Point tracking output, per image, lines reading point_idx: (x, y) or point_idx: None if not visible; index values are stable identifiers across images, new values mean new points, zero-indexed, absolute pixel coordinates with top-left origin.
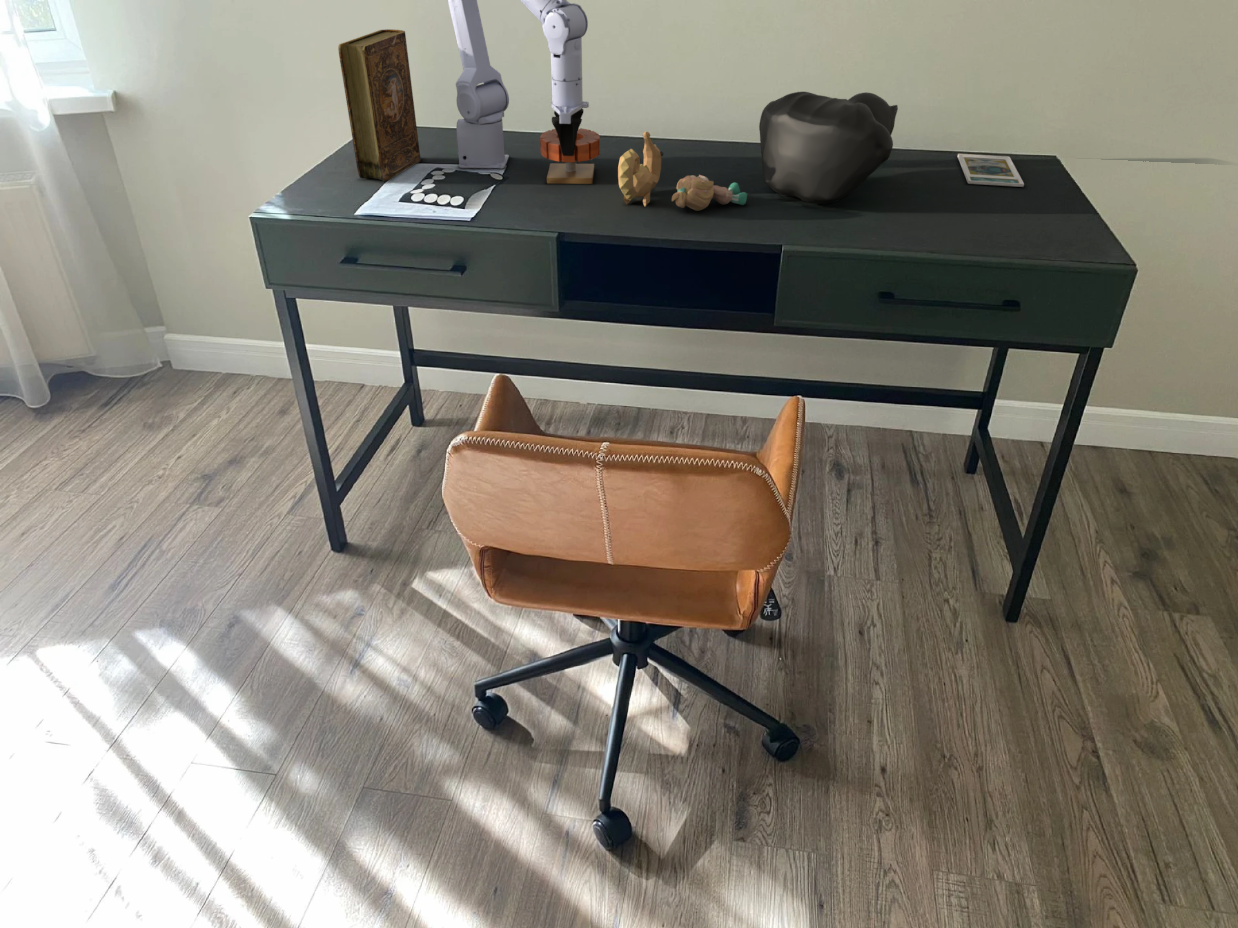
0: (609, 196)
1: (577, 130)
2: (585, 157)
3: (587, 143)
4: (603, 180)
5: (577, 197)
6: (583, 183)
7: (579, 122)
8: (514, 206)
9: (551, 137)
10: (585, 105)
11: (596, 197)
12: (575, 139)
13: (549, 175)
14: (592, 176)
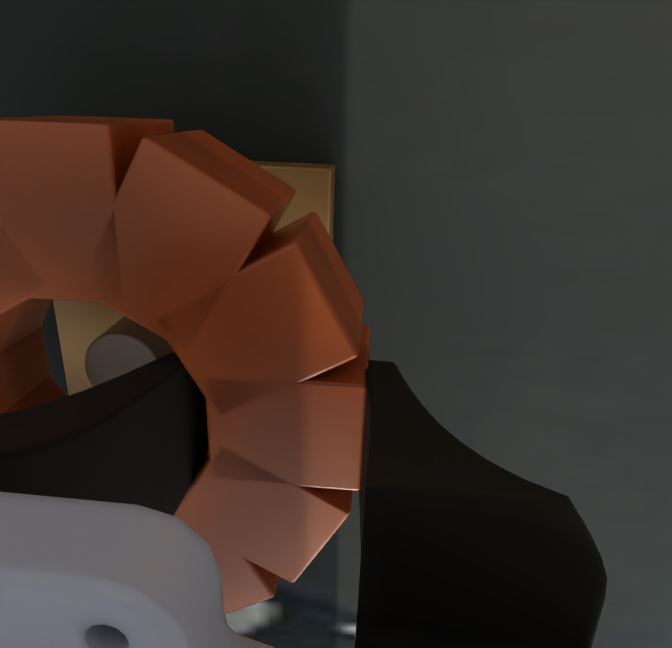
0: (591, 36)
1: (500, 471)
2: (331, 248)
3: (284, 259)
4: (252, 84)
5: (576, 258)
6: (332, 222)
7: (582, 538)
8: (660, 561)
9: None
10: (194, 641)
11: (596, 134)
12: (436, 421)
13: None
14: (290, 166)
